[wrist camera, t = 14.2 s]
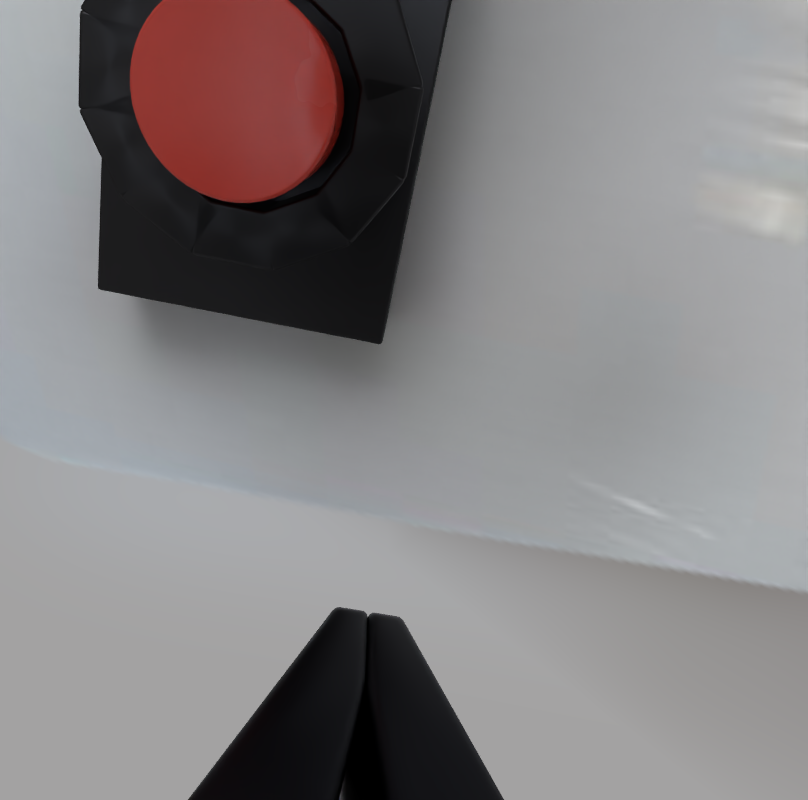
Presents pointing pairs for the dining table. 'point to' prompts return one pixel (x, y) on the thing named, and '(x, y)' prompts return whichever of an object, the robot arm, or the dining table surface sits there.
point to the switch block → (286, 214)
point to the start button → (236, 95)
